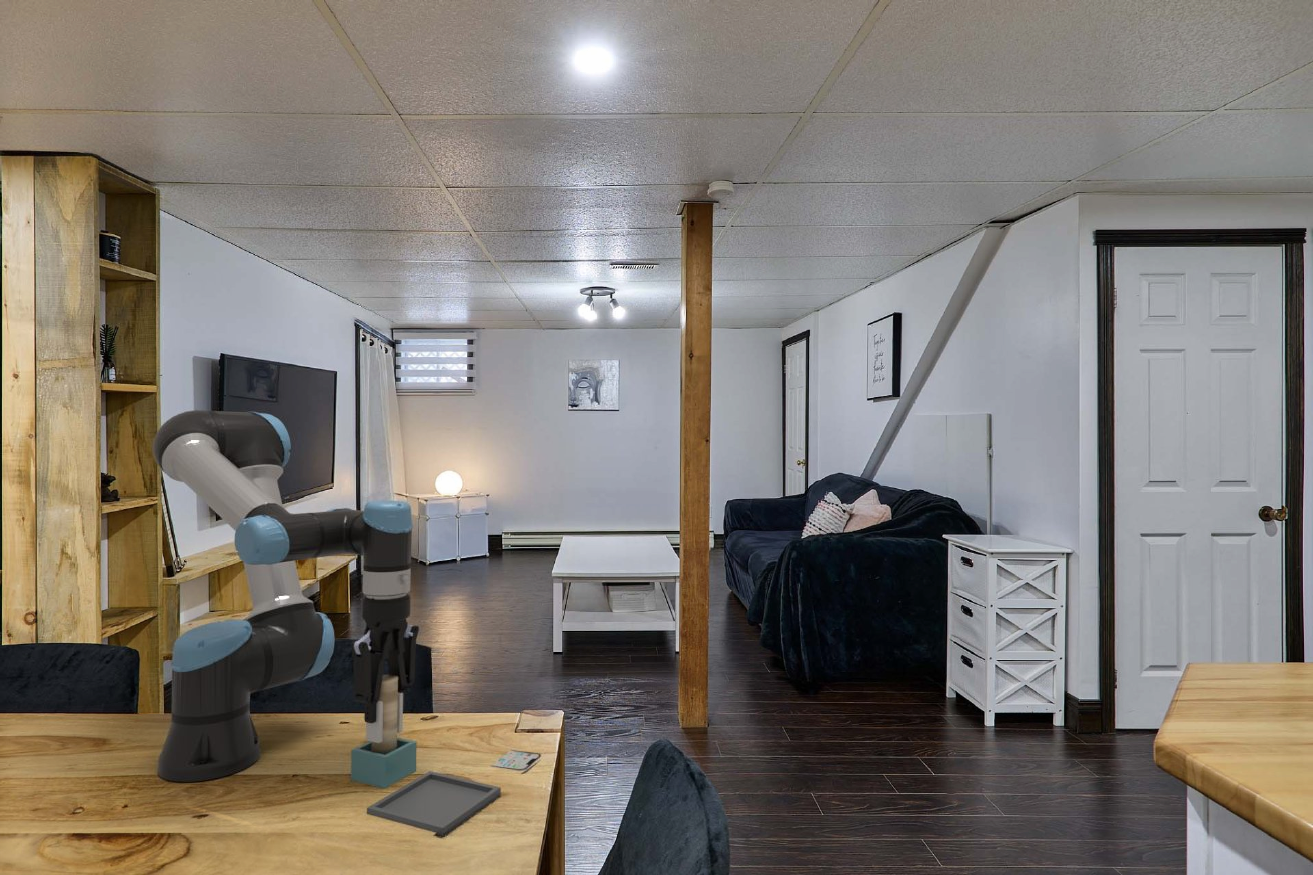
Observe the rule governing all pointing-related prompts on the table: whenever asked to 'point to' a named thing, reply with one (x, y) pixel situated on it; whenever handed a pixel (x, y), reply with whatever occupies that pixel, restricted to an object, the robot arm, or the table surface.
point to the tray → (436, 802)
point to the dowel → (388, 715)
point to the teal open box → (383, 764)
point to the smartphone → (517, 760)
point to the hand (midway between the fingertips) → (384, 735)
